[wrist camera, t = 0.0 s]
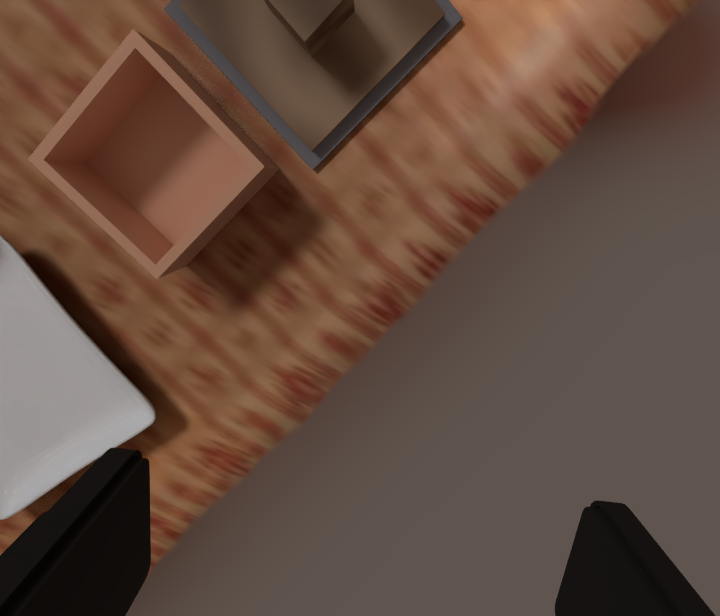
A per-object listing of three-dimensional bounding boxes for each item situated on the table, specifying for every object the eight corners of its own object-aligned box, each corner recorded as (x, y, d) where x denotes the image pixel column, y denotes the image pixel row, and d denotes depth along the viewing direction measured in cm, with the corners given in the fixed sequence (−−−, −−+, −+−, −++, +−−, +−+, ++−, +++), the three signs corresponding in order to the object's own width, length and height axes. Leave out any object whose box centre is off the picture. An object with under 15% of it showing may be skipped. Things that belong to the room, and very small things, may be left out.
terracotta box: (171, 53, 36) (133, 28, 30) (280, 168, 38) (264, 166, 32) (79, 162, 38) (27, 159, 32) (187, 265, 40) (156, 279, 34)
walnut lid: (313, -148, 31) (304, -205, 27) (443, 17, 34) (455, -9, 29) (183, 9, 34) (154, -18, 30) (312, 151, 37) (305, 147, 32)
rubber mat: (314, -169, 31) (313, -174, 31) (461, 19, 34) (462, 17, 34) (166, 11, 35) (164, 9, 34) (313, 169, 37) (312, 169, 37)
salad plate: (175, 402, 44) (160, 420, 41) (22, 503, 47) (-4, 527, 44) (19, 220, 39) (-13, 223, 36) (-138, 346, 43) (-180, 360, 40)
